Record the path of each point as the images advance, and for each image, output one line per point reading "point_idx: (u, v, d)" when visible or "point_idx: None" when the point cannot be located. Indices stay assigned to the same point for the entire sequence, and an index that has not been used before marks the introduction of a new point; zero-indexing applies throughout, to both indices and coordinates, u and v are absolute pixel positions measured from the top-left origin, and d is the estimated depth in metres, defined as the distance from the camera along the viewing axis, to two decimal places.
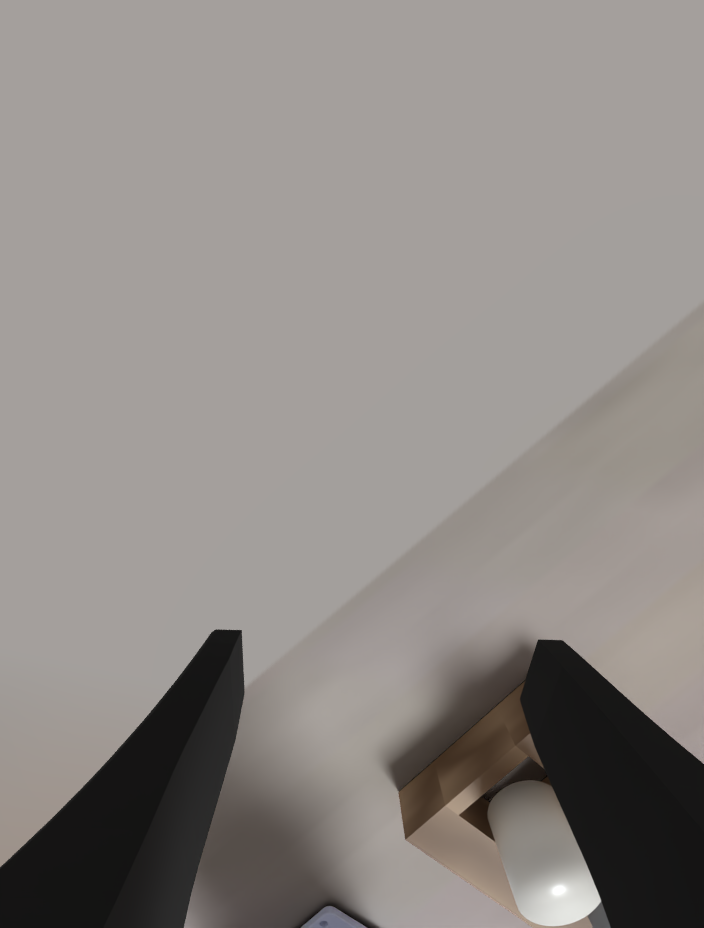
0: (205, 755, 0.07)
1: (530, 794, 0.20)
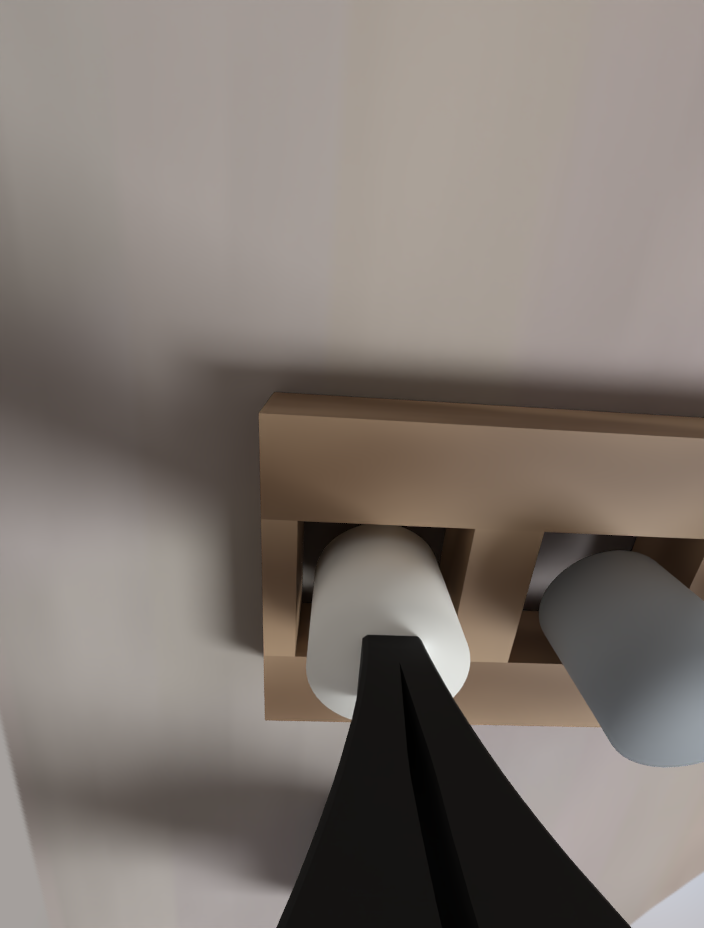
0: None
1: (331, 553, 0.12)
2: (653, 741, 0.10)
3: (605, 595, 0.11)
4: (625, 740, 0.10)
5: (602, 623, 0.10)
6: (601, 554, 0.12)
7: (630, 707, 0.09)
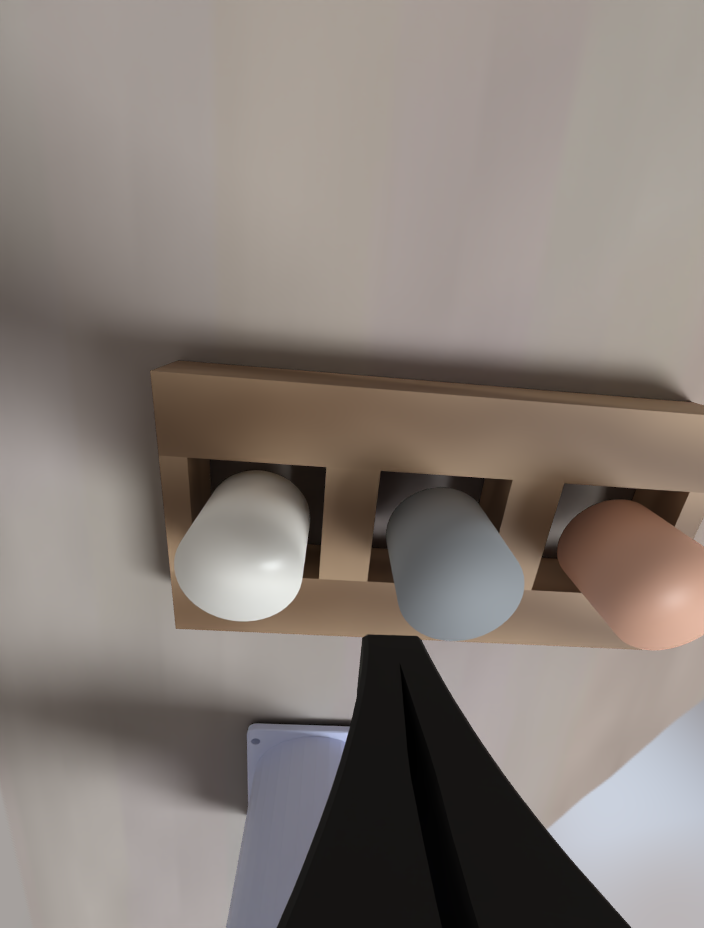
0: None
1: (214, 492, 0.15)
2: (436, 618, 0.13)
3: (415, 515, 0.14)
4: (415, 617, 0.13)
5: (407, 533, 0.14)
6: (427, 490, 0.15)
7: (412, 588, 0.13)
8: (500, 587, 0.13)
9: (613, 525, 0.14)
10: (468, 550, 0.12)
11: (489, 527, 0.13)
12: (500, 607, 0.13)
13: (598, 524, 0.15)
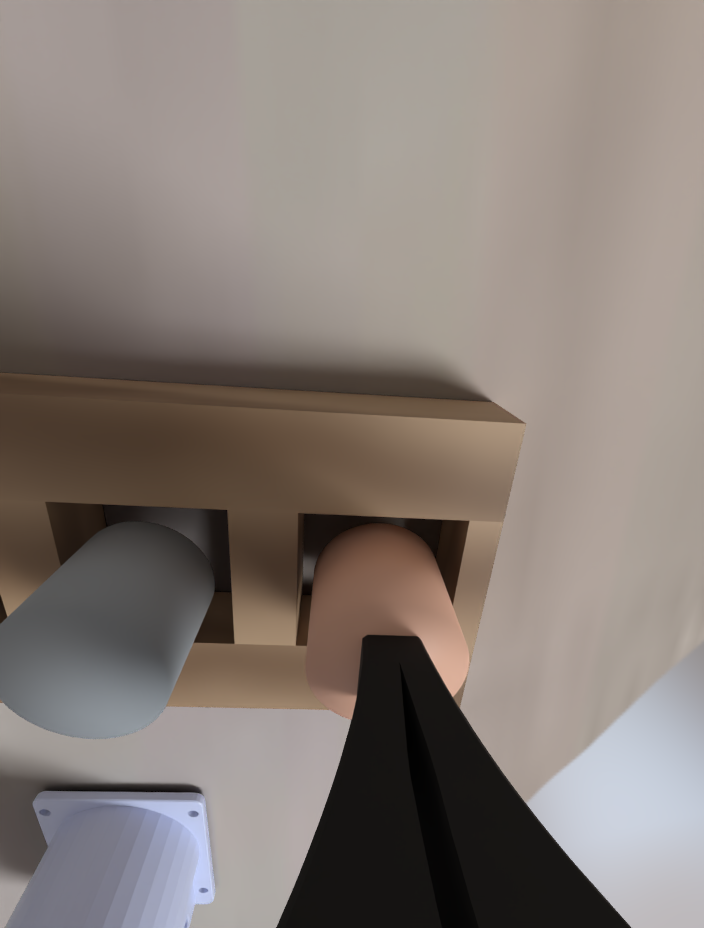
0: None
1: None
2: (60, 711, 0.09)
3: None
4: (30, 710, 0.09)
5: None
6: (114, 525, 0.11)
7: (6, 675, 0.09)
8: (132, 671, 0.09)
9: (342, 560, 0.11)
10: (61, 624, 0.08)
11: (133, 583, 0.09)
12: (146, 695, 0.09)
13: (333, 557, 0.12)
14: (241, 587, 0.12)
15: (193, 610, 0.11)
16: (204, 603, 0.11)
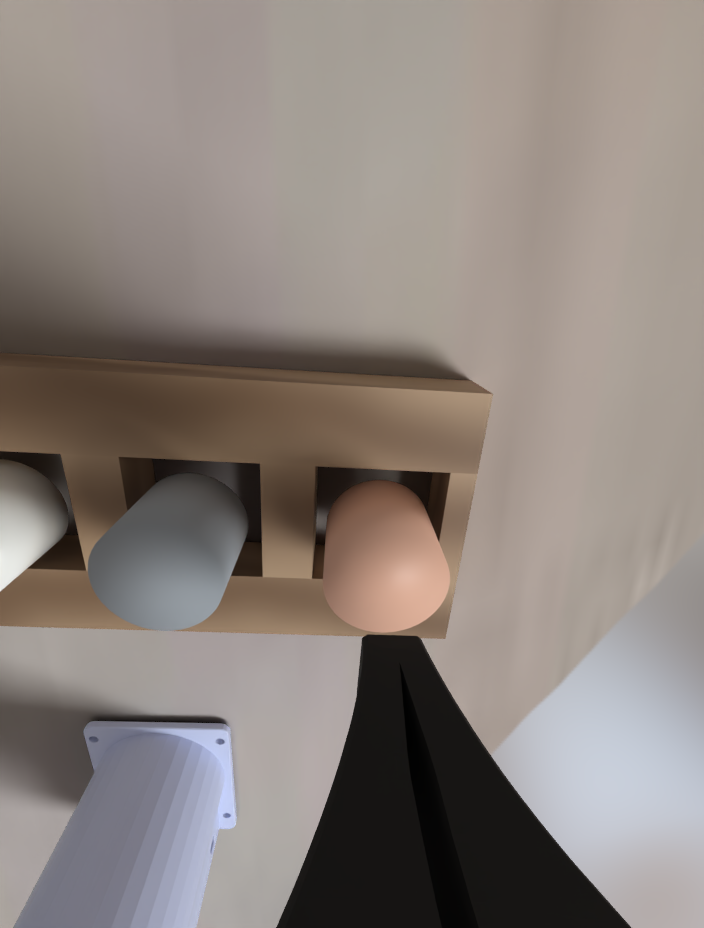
0: None
1: None
2: (141, 607, 0.13)
3: (137, 501, 0.13)
4: (118, 606, 0.13)
5: None
6: (171, 476, 0.15)
7: (103, 576, 0.12)
8: (196, 573, 0.12)
9: (351, 505, 0.14)
10: (148, 535, 0.12)
11: (195, 511, 0.13)
12: (205, 594, 0.12)
13: (343, 505, 0.14)
14: (269, 528, 0.16)
15: (236, 538, 0.14)
16: (242, 536, 0.15)
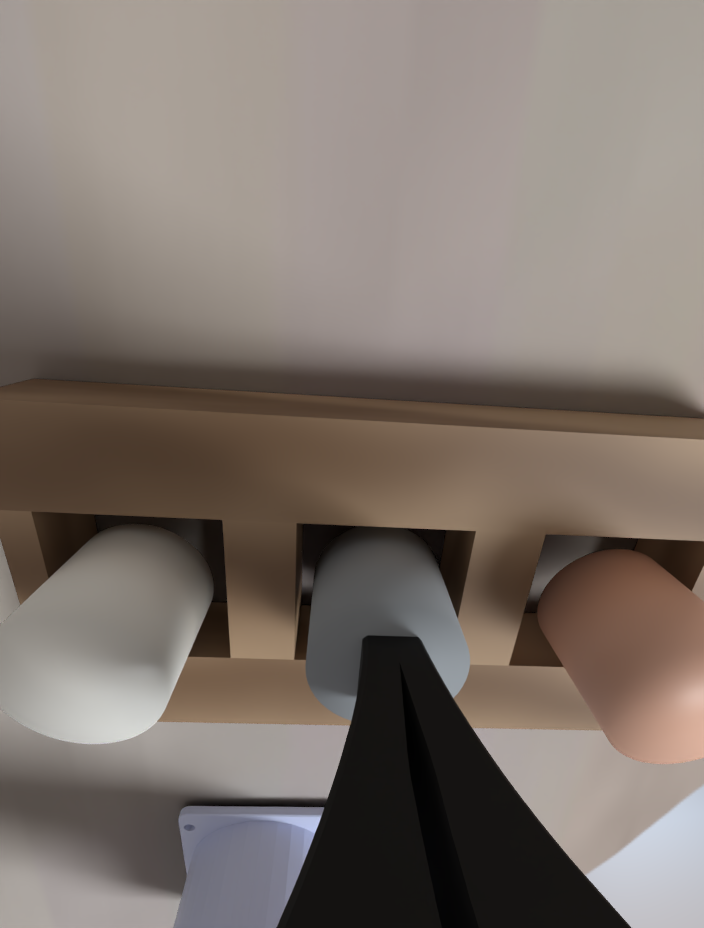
0: None
1: (72, 556, 0.11)
2: None
3: (338, 563, 0.11)
4: (332, 699, 0.10)
5: (324, 589, 0.11)
6: (359, 527, 0.12)
7: (323, 665, 0.10)
8: (439, 662, 0.10)
9: (608, 590, 0.11)
10: (391, 619, 0.09)
11: (426, 581, 0.10)
12: None
13: (588, 586, 0.11)
14: (469, 608, 0.12)
15: None
16: None
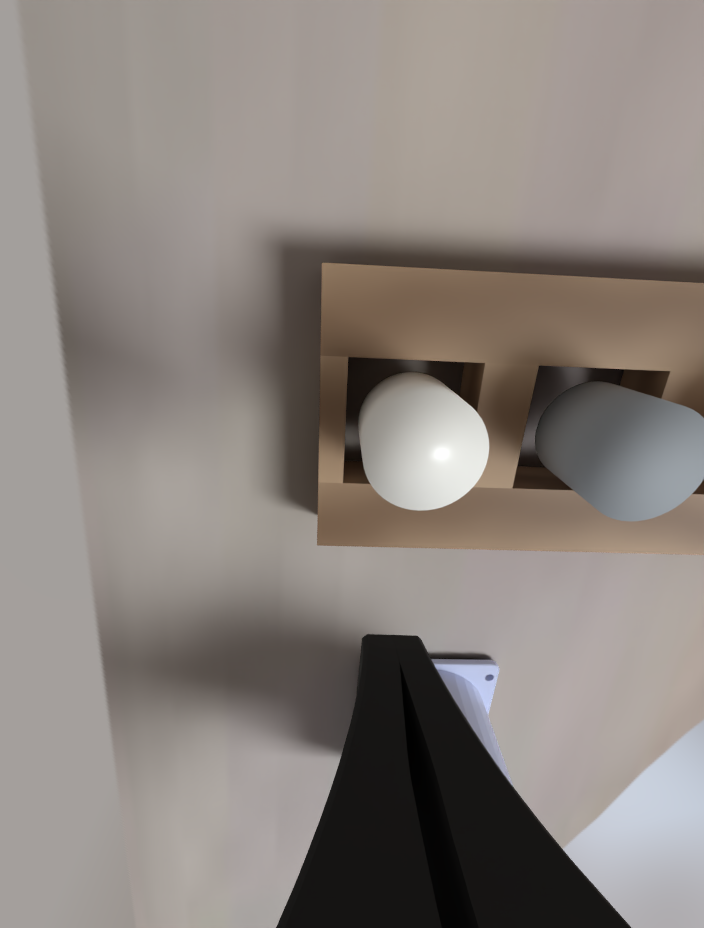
0: None
1: (374, 392, 0.15)
2: (619, 496, 0.13)
3: (584, 401, 0.14)
4: (598, 495, 0.13)
5: (581, 416, 0.14)
6: (582, 384, 0.15)
7: (600, 462, 0.13)
8: (688, 459, 0.13)
9: None
10: (662, 418, 0.12)
11: None
12: (685, 482, 0.13)
13: None
14: None
15: None
16: None
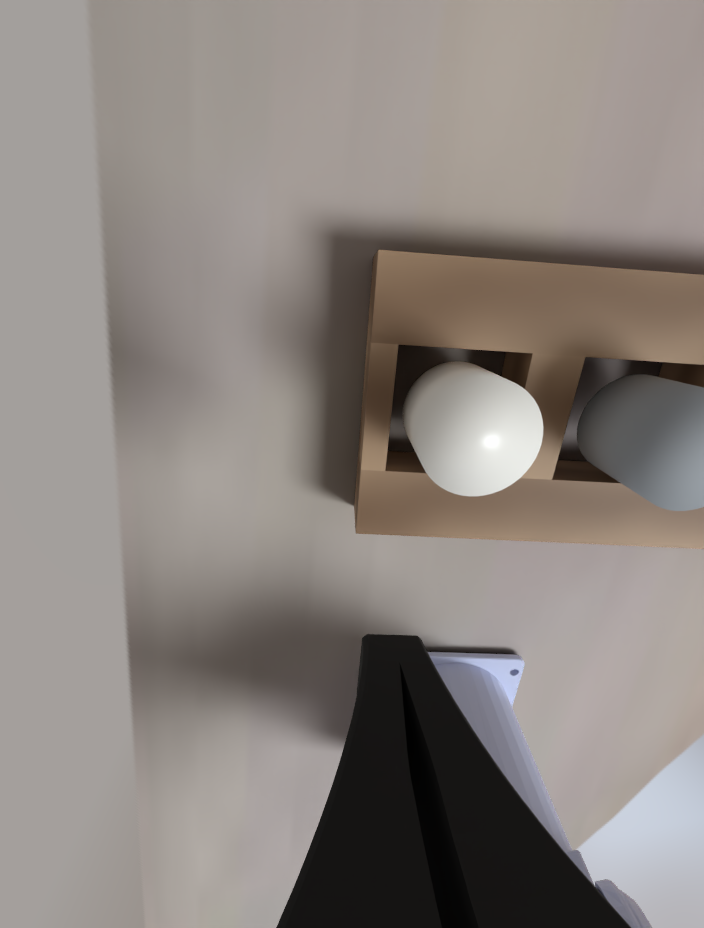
0: None
1: (422, 380, 0.15)
2: (669, 485, 0.13)
3: (632, 392, 0.14)
4: (648, 483, 0.13)
5: (630, 406, 0.14)
6: (627, 376, 0.15)
7: (652, 451, 0.13)
8: None
9: None
10: None
11: None
12: None
13: None
14: None
15: None
16: None
